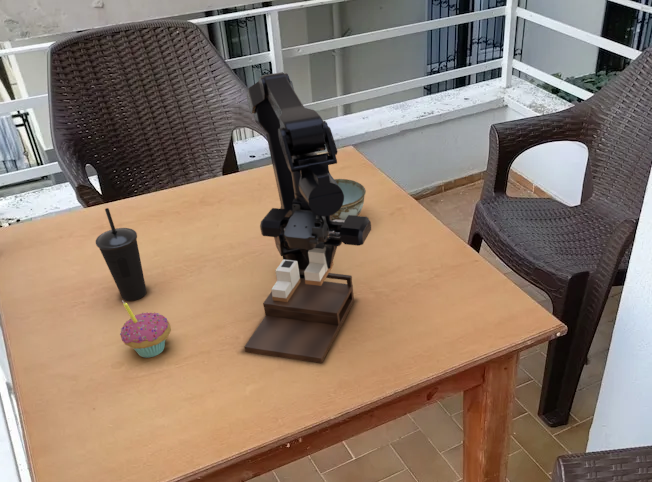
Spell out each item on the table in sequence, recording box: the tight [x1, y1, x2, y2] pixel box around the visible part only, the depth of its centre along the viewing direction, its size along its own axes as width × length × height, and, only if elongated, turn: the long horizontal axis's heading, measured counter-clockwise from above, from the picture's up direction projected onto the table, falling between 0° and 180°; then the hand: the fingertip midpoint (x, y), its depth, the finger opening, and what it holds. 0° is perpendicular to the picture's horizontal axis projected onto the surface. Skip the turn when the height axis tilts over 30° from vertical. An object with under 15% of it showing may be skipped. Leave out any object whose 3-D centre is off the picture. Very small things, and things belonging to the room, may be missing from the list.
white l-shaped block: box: [270, 259, 301, 302], centre depth 133 cm, size 7×3×5 cm, turn 167°
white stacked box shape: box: [304, 242, 335, 286], centre depth 124 cm, size 7×3×5 cm, turn 167°
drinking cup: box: [95, 207, 147, 302], centre depth 136 cm, size 8×8×20 cm
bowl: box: [331, 178, 367, 221], centre depth 163 cm, size 14×13×8 cm
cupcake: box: [119, 299, 172, 359], centre depth 124 cm, size 9×8×12 cm
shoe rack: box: [244, 269, 355, 364], centre depth 131 cm, size 15×19×6 cm
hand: (320, 266), depth 125 cm, fingers closed on white stacked box shape, 3 cm apart
